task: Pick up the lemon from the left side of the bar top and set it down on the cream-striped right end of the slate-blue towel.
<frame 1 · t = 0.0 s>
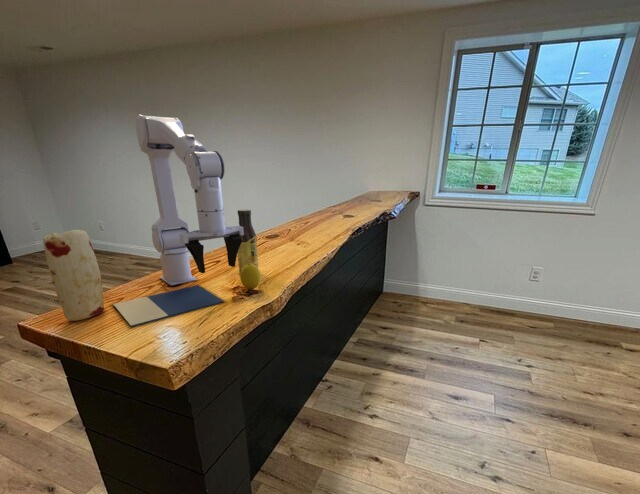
hand: (217, 268, 83), 10 cm above the table, tool pointing down, fingers open, 7 cm apart
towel: (169, 303, 88), on the table
lemon: (251, 291, 98), on the table
sauce bottle: (249, 273, 113), on the table
food model: (88, 316, 82), on the table
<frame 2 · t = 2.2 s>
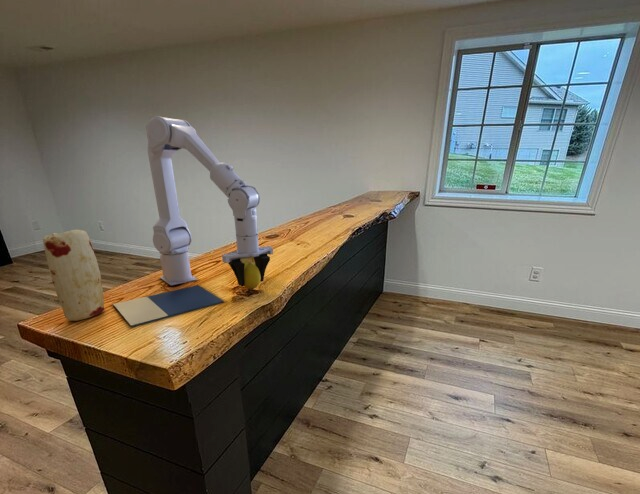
hand: (250, 283, 97), 2 cm above the table, tool pointing down, fingers closed on lemon, 5 cm apart
lemon: (251, 291, 98), on the table, touching gripper
everything else where it was.
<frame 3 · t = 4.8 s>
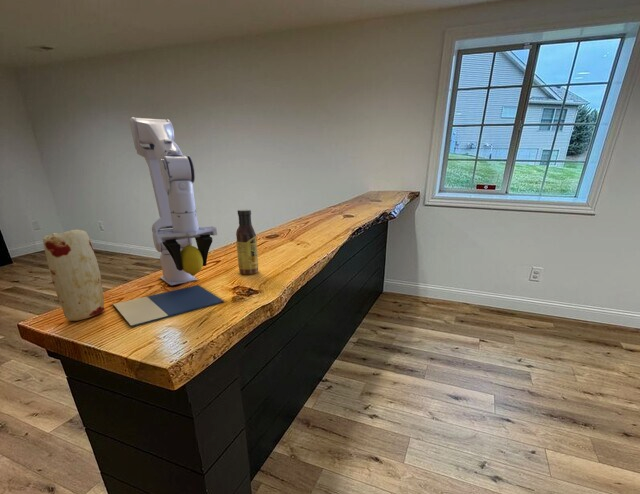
hand: (191, 267, 87), 9 cm above the table, tool pointing down, fingers closed on lemon, 5 cm apart
lemon: (193, 276, 88), point 7 cm above the table, touching gripper
everything else where it was.
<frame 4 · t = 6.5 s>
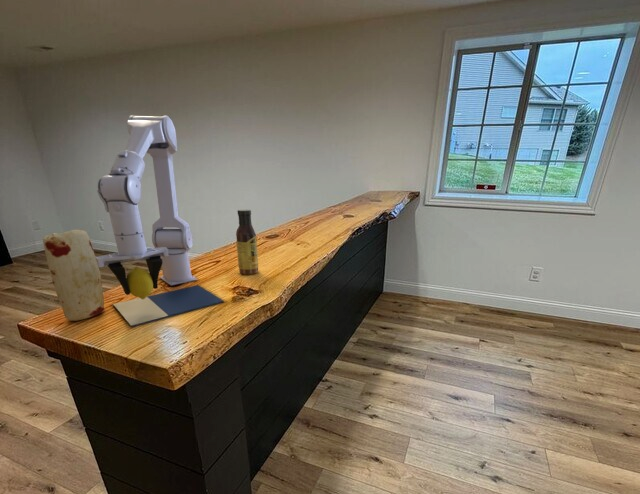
hand: (141, 290, 82), 5 cm above the table, tool pointing down, fingers closed on lemon, 5 cm apart
lemon: (143, 299, 83), point 3 cm above the table, touching gripper
everything else where it was.
when the fingers open (3 cm above the table, at t = 7.8 s): lemon stays where it is, resting on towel.
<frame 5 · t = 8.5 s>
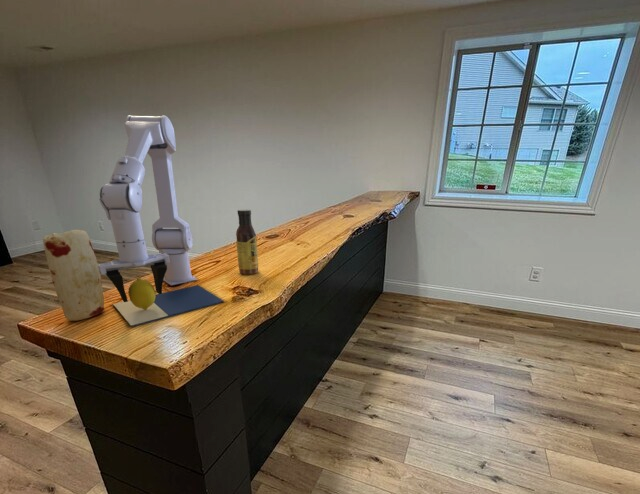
hand: (142, 296, 83), 4 cm above the table, tool pointing down, fingers open, 7 cm apart
lemon: (145, 310, 84), resting on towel
everything else where it was.
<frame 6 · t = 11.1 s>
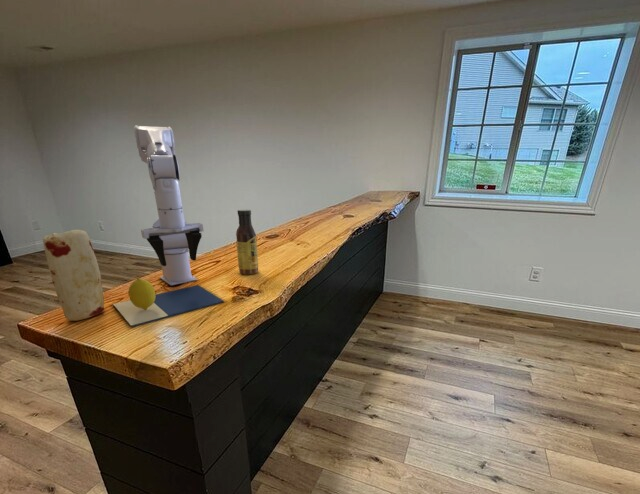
hand: (178, 262, 90), 9 cm above the table, tool pointing down, fingers open, 7 cm apart
nothing on the table moved.
at the end: lemon inside the target area (1.1 cm from its centre), resting on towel; the gripper is holding nothing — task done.
